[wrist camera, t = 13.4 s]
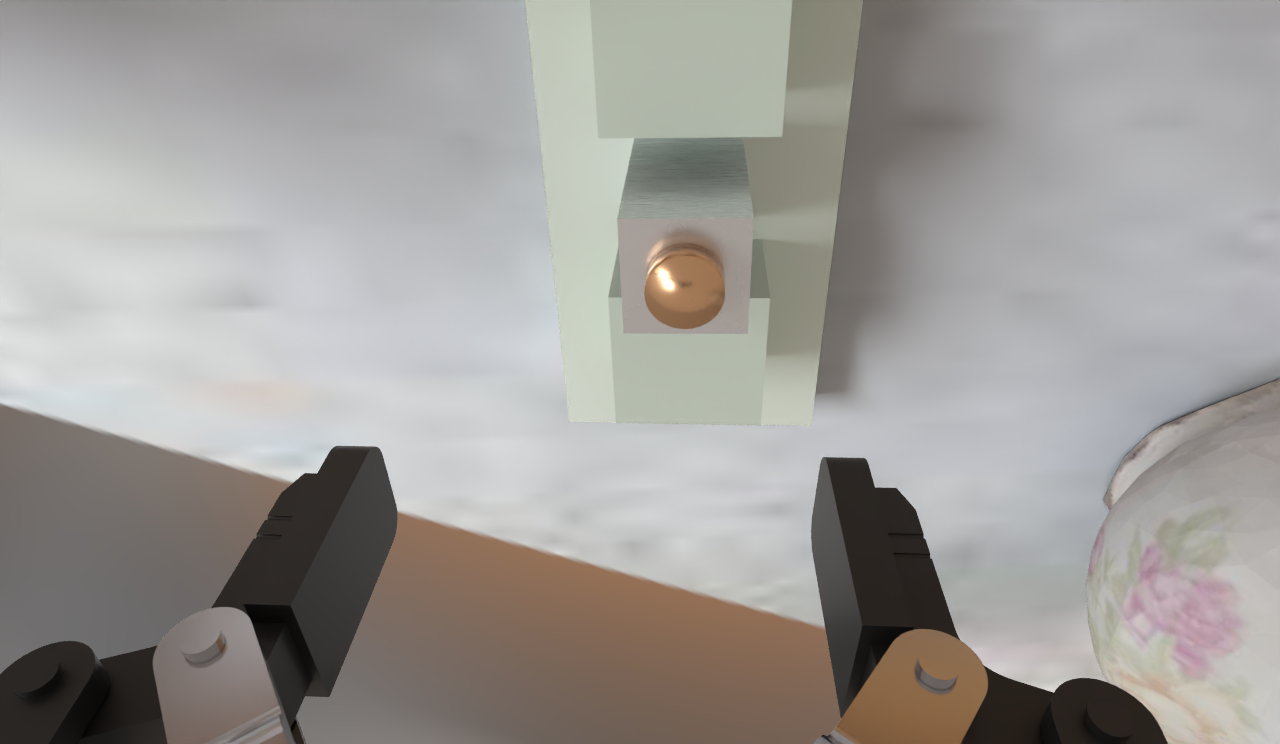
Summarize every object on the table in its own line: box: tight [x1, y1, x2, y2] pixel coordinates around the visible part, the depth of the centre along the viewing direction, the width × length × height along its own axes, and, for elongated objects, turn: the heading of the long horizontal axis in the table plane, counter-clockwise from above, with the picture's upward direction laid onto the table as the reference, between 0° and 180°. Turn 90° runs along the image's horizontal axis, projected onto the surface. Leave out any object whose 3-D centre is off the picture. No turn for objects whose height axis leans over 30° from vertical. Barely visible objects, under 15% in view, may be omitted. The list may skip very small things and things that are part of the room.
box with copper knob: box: [617, 137, 754, 334], centre depth 27 cm, size 4×4×10 cm
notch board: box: [525, 0, 863, 426], centre depth 31 cm, size 12×22×8 cm, turn 2°
